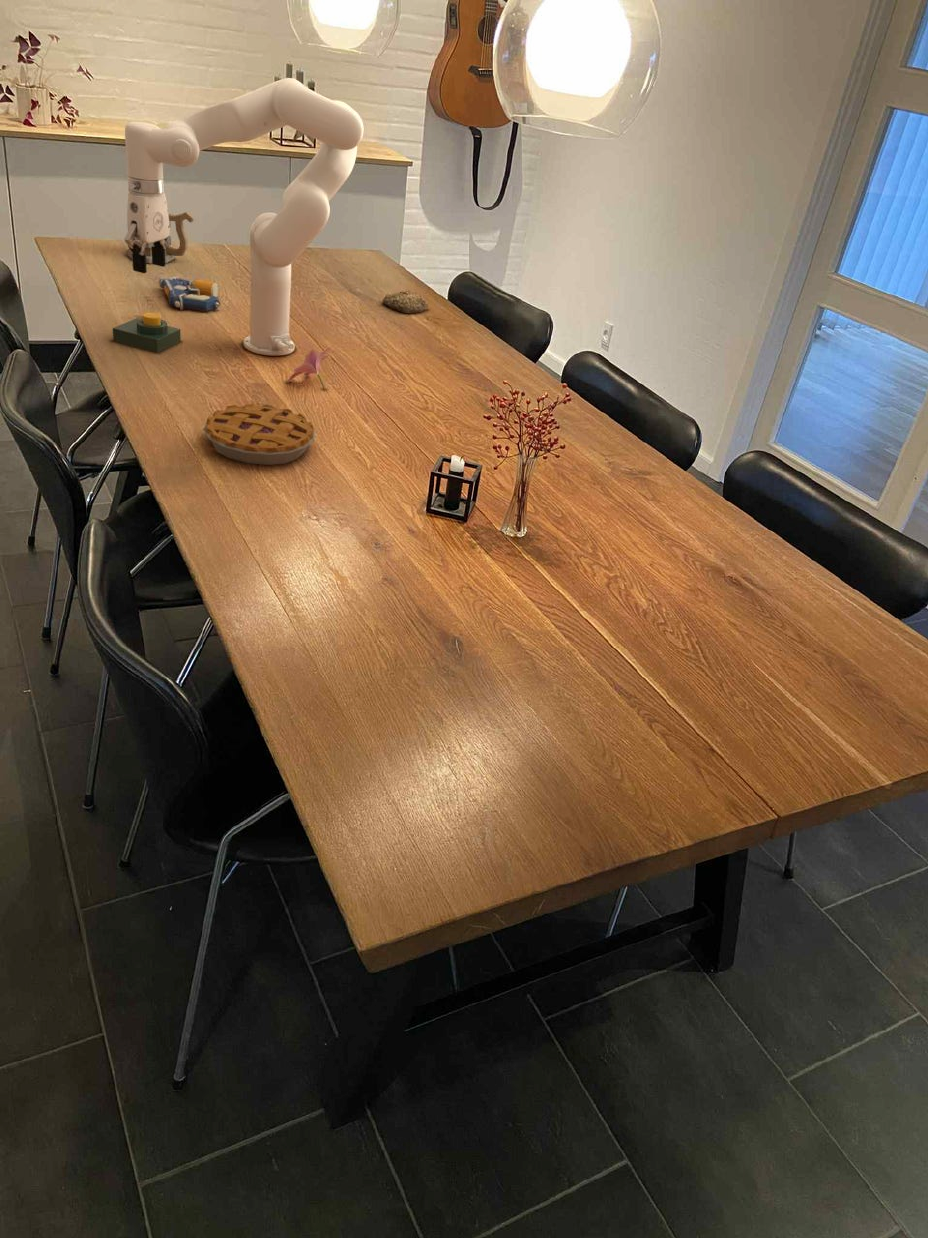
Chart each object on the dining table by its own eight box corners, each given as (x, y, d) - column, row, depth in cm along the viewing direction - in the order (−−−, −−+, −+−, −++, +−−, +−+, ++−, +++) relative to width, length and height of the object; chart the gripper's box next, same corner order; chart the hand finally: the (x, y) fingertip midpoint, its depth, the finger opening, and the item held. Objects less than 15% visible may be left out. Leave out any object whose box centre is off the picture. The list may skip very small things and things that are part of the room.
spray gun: (212, 288, 265) (158, 288, 258) (212, 273, 262) (157, 272, 256) (229, 314, 250) (172, 314, 244) (229, 298, 248) (171, 298, 241)
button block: (180, 341, 227) (180, 321, 224) (157, 353, 219) (156, 332, 216) (137, 330, 229) (136, 310, 227) (113, 341, 221) (111, 320, 218)
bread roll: (402, 315, 270) (404, 298, 267) (377, 302, 277) (378, 285, 274) (435, 311, 278) (437, 295, 275) (410, 298, 285) (412, 282, 282)
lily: (334, 380, 224) (318, 342, 220) (352, 379, 214) (336, 339, 210) (290, 399, 220) (274, 360, 216) (306, 399, 210) (289, 358, 206)
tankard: (121, 257, 276) (117, 204, 268) (140, 248, 286) (137, 197, 278) (185, 270, 275) (183, 217, 266) (202, 261, 285) (201, 209, 277)
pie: (223, 414, 196) (223, 392, 194) (325, 432, 196) (326, 410, 194) (188, 456, 178) (188, 432, 176) (300, 476, 178) (301, 452, 176)
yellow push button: (164, 323, 223) (163, 315, 222) (154, 328, 219) (154, 319, 218) (149, 320, 223) (149, 311, 222) (139, 324, 220) (139, 315, 219)
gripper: (137, 194, 196) (141, 279, 206) (182, 184, 210) (184, 264, 221) (106, 187, 198) (112, 272, 208) (153, 177, 212) (156, 257, 222)
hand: (149, 267), depth 214 cm, fingers open, 6 cm apart
